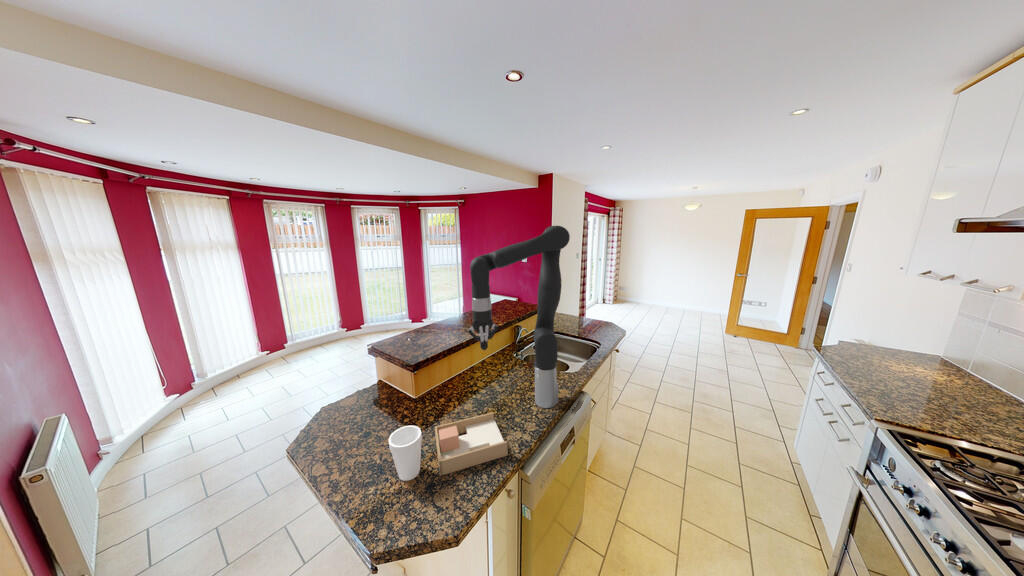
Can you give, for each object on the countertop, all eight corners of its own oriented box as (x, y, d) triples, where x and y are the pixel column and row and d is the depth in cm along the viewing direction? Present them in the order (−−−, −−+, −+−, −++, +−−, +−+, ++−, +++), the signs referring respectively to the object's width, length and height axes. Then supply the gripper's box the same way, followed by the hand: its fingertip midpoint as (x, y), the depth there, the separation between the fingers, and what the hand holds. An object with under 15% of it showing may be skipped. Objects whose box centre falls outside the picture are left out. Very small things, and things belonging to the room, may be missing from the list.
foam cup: (399, 461, 92) (394, 426, 89) (427, 459, 92) (424, 424, 90) (388, 486, 83) (383, 448, 80) (420, 484, 83) (416, 446, 81)
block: (457, 438, 98) (456, 425, 97) (459, 448, 93) (458, 434, 92) (439, 442, 96) (438, 430, 95) (441, 453, 91) (440, 439, 90)
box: (493, 423, 109) (493, 412, 108) (507, 455, 93) (507, 442, 92) (435, 438, 102) (434, 426, 101) (440, 475, 86) (439, 461, 85)
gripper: (495, 304, 115) (497, 343, 118) (463, 307, 111) (466, 348, 114) (500, 308, 108) (502, 350, 111) (466, 312, 104) (469, 355, 107)
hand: (484, 349), depth 113 cm, fingers closed
